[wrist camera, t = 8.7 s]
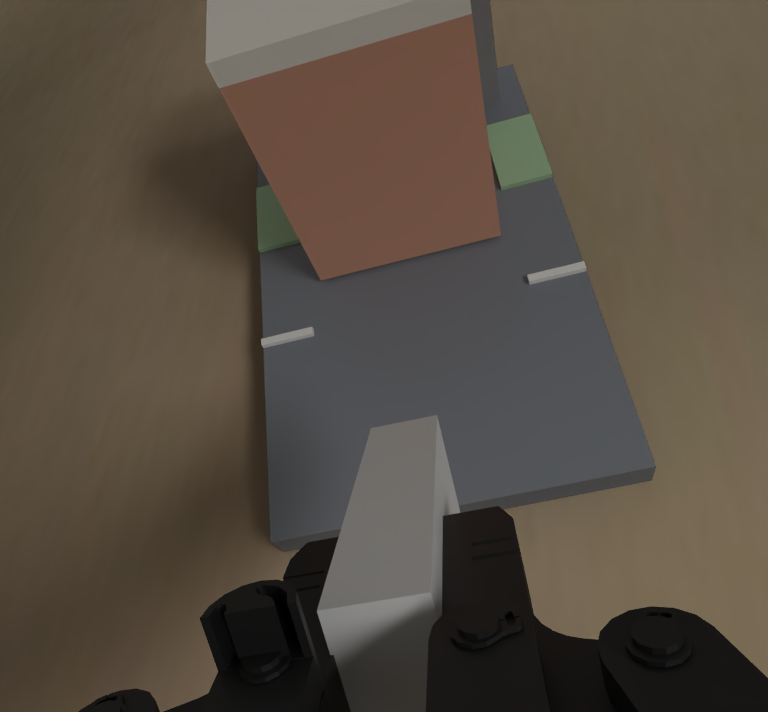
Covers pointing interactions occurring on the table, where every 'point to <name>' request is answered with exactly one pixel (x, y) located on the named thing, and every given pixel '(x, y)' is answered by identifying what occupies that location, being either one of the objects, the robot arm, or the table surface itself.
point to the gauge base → (447, 349)
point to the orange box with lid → (361, 122)
